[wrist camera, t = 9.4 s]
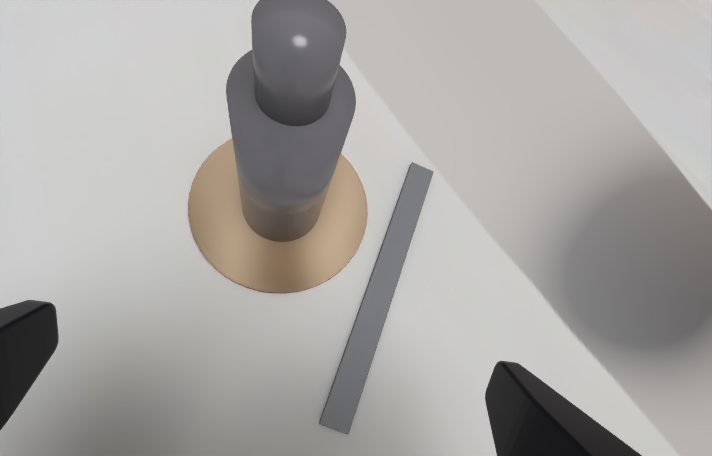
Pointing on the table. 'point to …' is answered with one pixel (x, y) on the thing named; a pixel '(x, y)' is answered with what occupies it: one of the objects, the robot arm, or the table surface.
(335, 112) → the grey stepped cylinder
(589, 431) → the robot arm
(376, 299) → the felt line
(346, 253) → the cork coaster
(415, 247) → the table surface
